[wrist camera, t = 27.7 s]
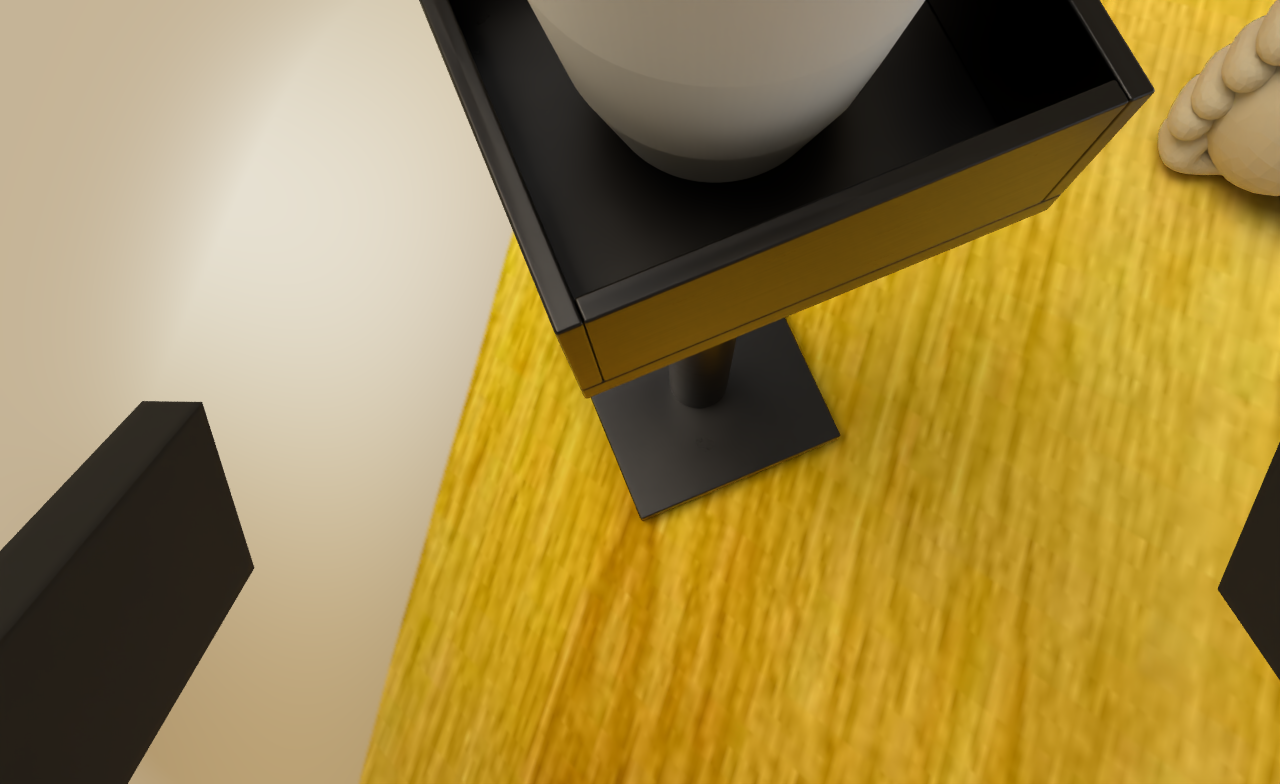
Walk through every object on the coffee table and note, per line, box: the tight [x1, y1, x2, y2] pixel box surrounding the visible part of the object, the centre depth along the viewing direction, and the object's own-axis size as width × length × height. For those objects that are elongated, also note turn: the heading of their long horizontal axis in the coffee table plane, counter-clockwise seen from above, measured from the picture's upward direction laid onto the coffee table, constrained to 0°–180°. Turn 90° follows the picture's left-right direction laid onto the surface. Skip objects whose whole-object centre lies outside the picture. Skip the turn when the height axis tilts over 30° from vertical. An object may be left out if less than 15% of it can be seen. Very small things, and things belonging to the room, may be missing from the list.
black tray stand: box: [419, 0, 1155, 521], centre depth 33 cm, size 11×11×33 cm
